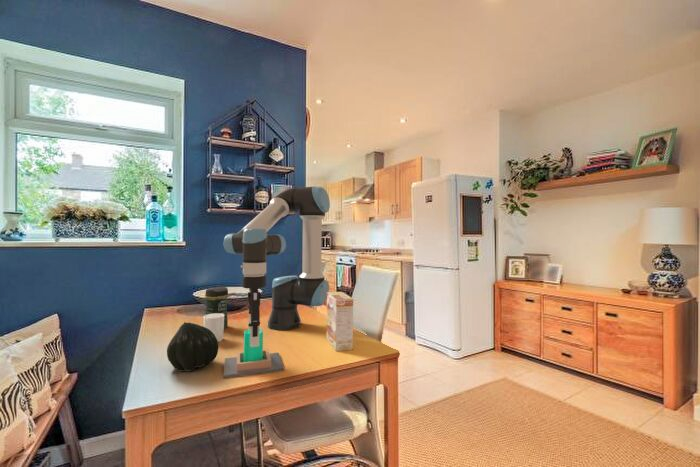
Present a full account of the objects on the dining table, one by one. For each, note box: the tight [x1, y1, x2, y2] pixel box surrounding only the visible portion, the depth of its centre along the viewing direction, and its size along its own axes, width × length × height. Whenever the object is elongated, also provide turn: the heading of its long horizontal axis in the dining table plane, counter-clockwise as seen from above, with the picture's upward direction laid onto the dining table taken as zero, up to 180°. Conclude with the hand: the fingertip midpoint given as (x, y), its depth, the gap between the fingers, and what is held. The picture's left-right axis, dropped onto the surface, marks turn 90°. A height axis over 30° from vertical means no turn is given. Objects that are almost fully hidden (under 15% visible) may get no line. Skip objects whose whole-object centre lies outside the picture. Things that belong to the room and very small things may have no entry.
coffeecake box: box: [325, 291, 354, 352], centre depth 130 cm, size 15×7×20 cm, turn 18°
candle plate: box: [222, 348, 285, 379], centre depth 108 cm, size 18×14×3 cm
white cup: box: [203, 313, 225, 343], centre depth 133 cm, size 8×8×10 cm
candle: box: [243, 328, 264, 362], centre depth 108 cm, size 6×6×12 cm
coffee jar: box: [204, 286, 229, 329], centre depth 150 cm, size 10×8×19 cm
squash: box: [166, 321, 219, 372], centre depth 107 cm, size 14×15×15 cm
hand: (253, 339), depth 108 cm, fingers open, 13 cm apart
